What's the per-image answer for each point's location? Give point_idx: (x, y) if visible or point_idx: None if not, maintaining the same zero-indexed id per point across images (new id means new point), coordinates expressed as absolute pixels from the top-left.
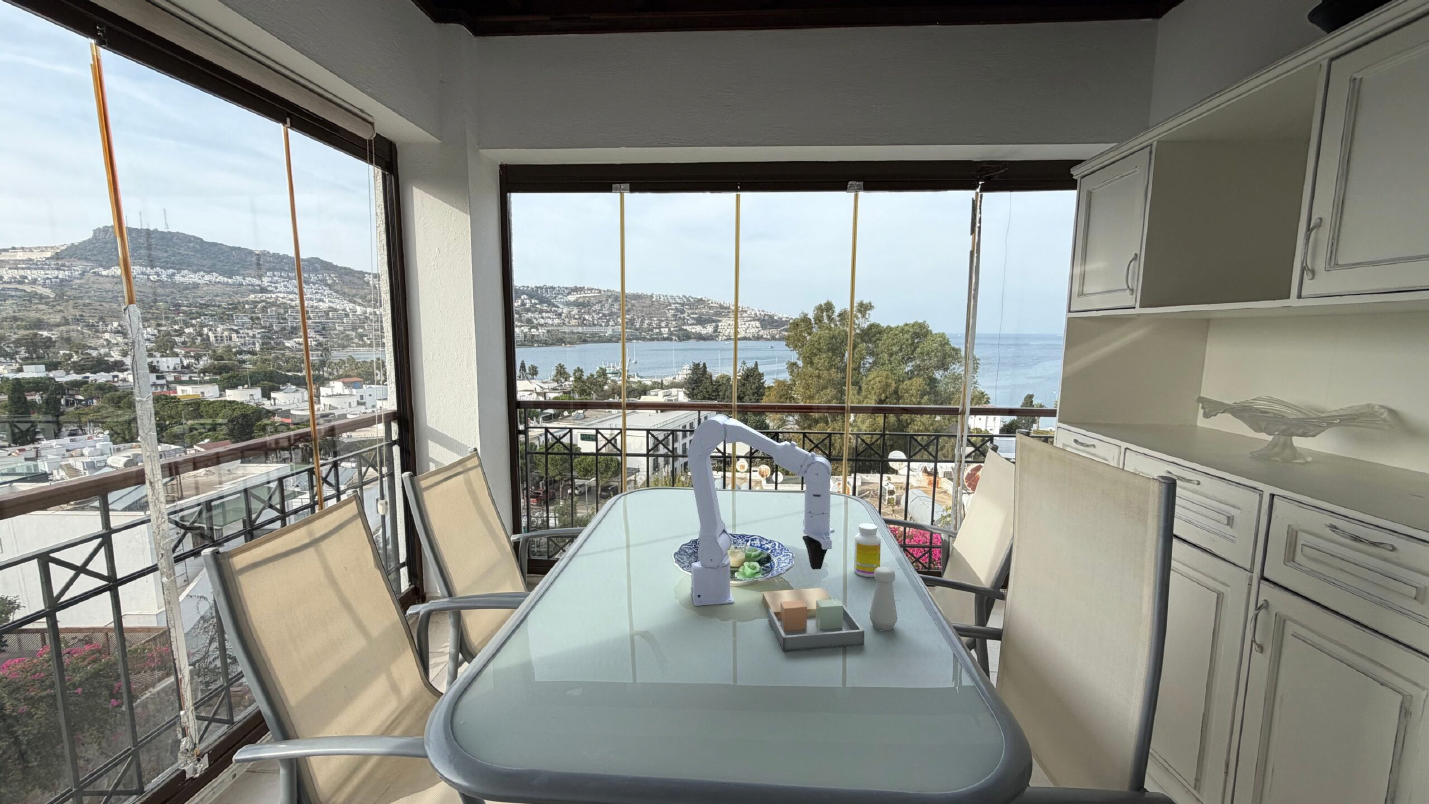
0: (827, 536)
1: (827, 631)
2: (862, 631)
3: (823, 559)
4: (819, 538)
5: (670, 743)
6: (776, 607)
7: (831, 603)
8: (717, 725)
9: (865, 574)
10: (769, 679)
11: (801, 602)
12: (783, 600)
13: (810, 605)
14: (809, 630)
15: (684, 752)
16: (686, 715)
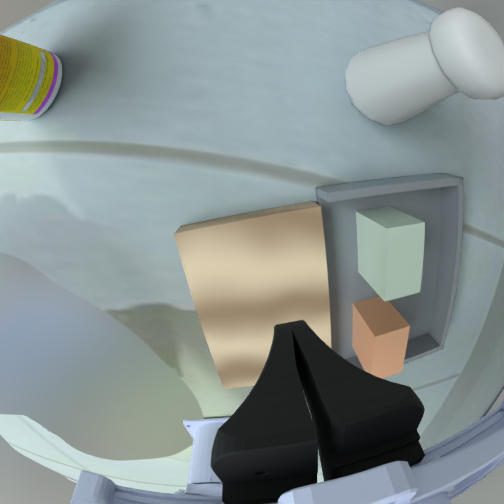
0: (501, 457)
1: None
2: (461, 182)
3: (326, 344)
4: (489, 472)
5: (488, 392)
6: None
7: (408, 257)
8: (492, 370)
9: (56, 86)
10: (469, 342)
11: (385, 339)
12: None
13: (306, 288)
14: None
15: (498, 381)
16: (472, 395)
